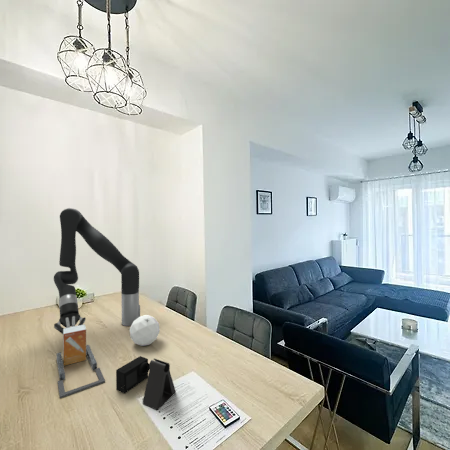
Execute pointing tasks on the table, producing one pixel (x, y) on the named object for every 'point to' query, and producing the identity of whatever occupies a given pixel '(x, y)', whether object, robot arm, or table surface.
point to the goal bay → (63, 393)
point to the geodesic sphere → (144, 330)
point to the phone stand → (158, 384)
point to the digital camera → (132, 374)
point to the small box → (74, 344)
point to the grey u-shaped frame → (90, 358)
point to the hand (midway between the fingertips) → (71, 341)
